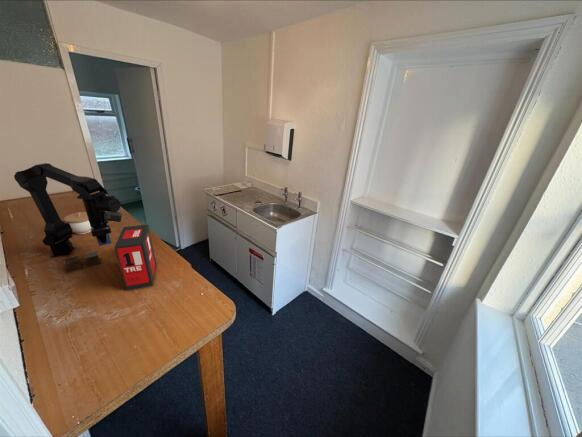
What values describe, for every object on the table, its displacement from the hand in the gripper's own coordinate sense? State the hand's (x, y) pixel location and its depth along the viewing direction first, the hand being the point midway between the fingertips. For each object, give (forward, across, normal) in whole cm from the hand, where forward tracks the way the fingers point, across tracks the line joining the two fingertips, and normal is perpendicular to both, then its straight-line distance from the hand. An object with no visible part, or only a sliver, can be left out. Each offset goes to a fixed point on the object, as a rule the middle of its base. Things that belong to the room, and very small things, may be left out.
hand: (104, 240), depth 104 cm
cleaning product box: (+10, -21, -9) cm, 25 cm away
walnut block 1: (+10, +1, +12) cm, 16 cm away
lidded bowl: (+10, +38, +7) cm, 40 cm away
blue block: (+1, 0, 0) cm, 1 cm away
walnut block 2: (+10, +1, +6) cm, 12 cm away
